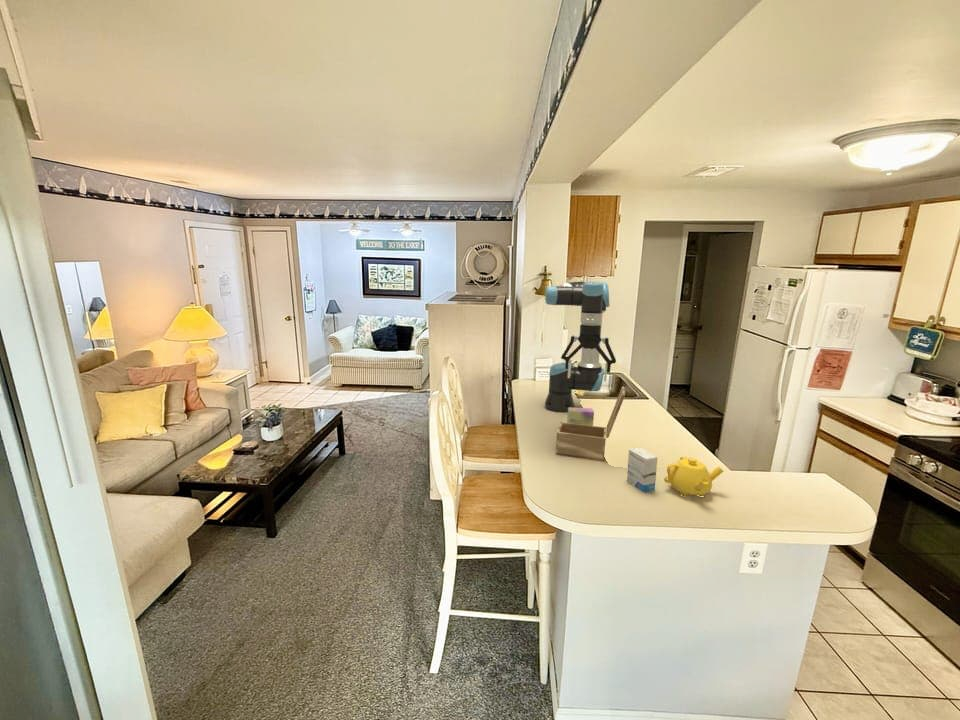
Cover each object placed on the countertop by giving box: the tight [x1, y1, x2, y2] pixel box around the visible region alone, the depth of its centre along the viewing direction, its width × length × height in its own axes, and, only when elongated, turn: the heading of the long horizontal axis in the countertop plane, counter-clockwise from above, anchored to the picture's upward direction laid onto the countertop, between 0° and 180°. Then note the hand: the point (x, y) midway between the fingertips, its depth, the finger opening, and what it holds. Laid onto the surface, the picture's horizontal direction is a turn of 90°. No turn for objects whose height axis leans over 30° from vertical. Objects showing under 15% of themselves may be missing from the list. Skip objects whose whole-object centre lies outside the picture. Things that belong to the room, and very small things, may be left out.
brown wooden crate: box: [555, 421, 607, 462], centre depth 164 cm, size 12×18×9 cm, turn 72°
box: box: [566, 406, 595, 426], centre depth 180 cm, size 10×6×12 cm, turn 84°
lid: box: [606, 386, 626, 439], centre depth 158 cm, size 12×17×1 cm
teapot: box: [663, 456, 724, 497], centre depth 134 cm, size 14×14×11 cm
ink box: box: [626, 447, 658, 493], centre depth 138 cm, size 9×5×12 cm, turn 19°
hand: (586, 379), depth 161 cm, fingers open, 13 cm apart
